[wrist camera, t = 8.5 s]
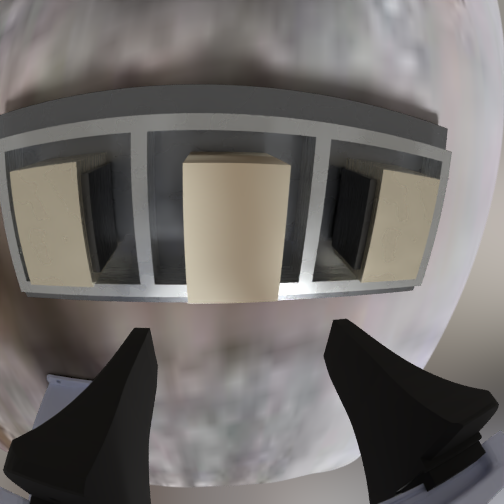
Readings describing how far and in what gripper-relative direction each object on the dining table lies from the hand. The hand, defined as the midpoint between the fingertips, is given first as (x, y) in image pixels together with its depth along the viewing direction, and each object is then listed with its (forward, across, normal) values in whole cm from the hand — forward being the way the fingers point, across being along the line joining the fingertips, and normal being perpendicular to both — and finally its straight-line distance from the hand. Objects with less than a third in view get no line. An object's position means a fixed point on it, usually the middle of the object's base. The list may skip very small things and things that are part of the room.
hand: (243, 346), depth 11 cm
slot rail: (+8, 0, -4) cm, 9 cm away
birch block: (+7, 0, -4) cm, 8 cm away
